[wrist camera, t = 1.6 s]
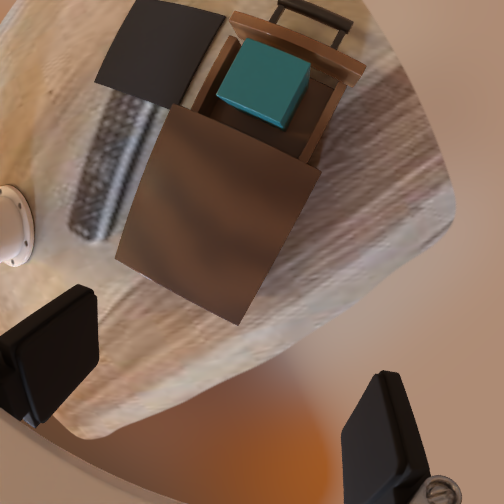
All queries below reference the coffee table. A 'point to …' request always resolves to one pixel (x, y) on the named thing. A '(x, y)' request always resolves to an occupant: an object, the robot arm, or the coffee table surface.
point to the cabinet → (213, 212)
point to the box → (266, 83)
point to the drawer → (318, 94)
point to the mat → (158, 50)
